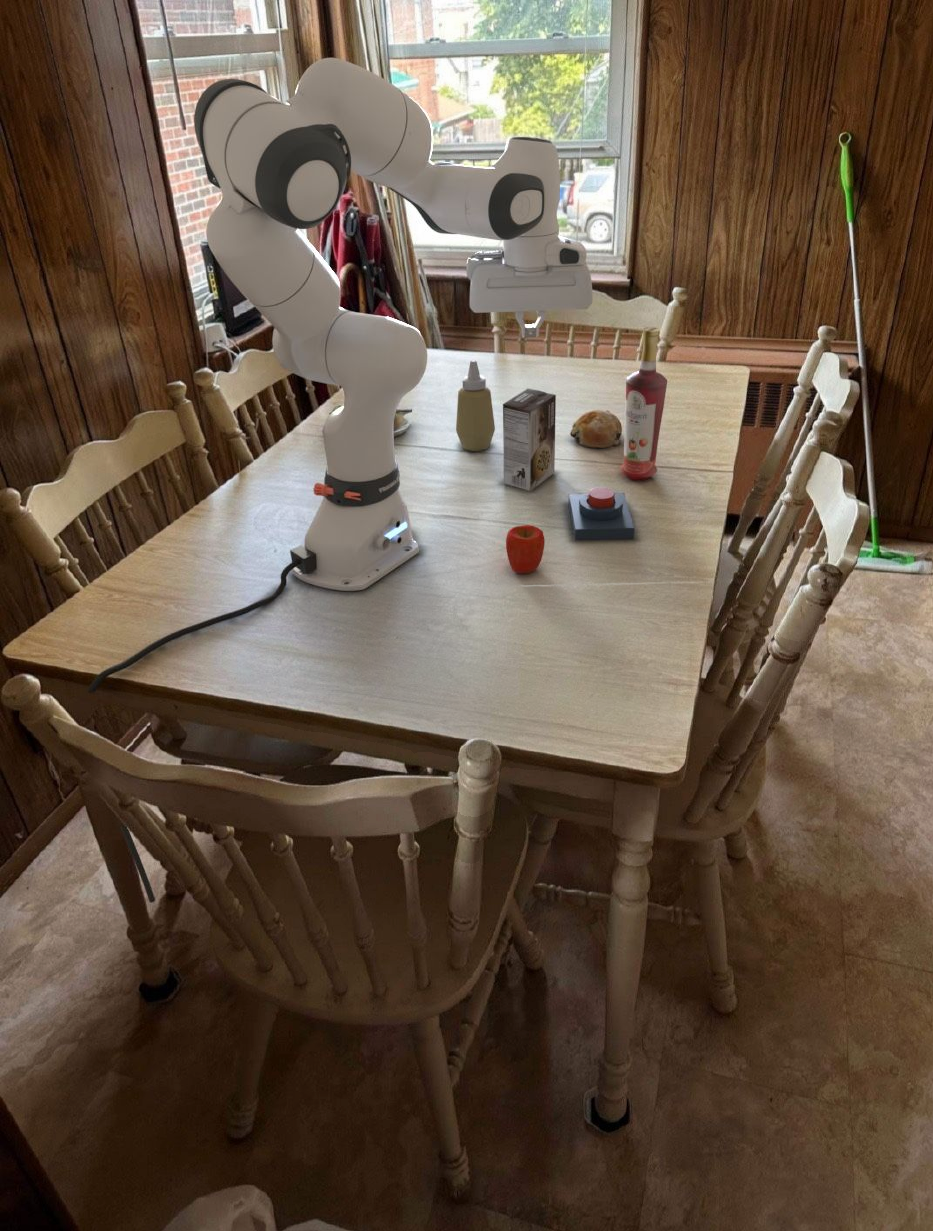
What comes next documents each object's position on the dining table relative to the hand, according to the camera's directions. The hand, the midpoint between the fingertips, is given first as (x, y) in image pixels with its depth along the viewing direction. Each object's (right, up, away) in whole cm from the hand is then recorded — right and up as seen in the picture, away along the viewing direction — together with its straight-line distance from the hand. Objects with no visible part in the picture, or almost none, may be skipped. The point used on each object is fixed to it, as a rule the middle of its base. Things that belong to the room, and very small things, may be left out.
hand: (530, 336), depth 149 cm
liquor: (+22, -20, +21) cm, 37 cm away
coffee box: (+1, -21, +21) cm, 30 cm away
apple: (-1, -40, -6) cm, 40 cm away
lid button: (+13, -28, +4) cm, 31 cm away
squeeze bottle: (-9, -12, +34) cm, 38 cm away
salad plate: (-33, -7, +43) cm, 55 cm away
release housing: (+13, -31, +6) cm, 34 cm away
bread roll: (+16, -11, +35) cm, 40 cm away
